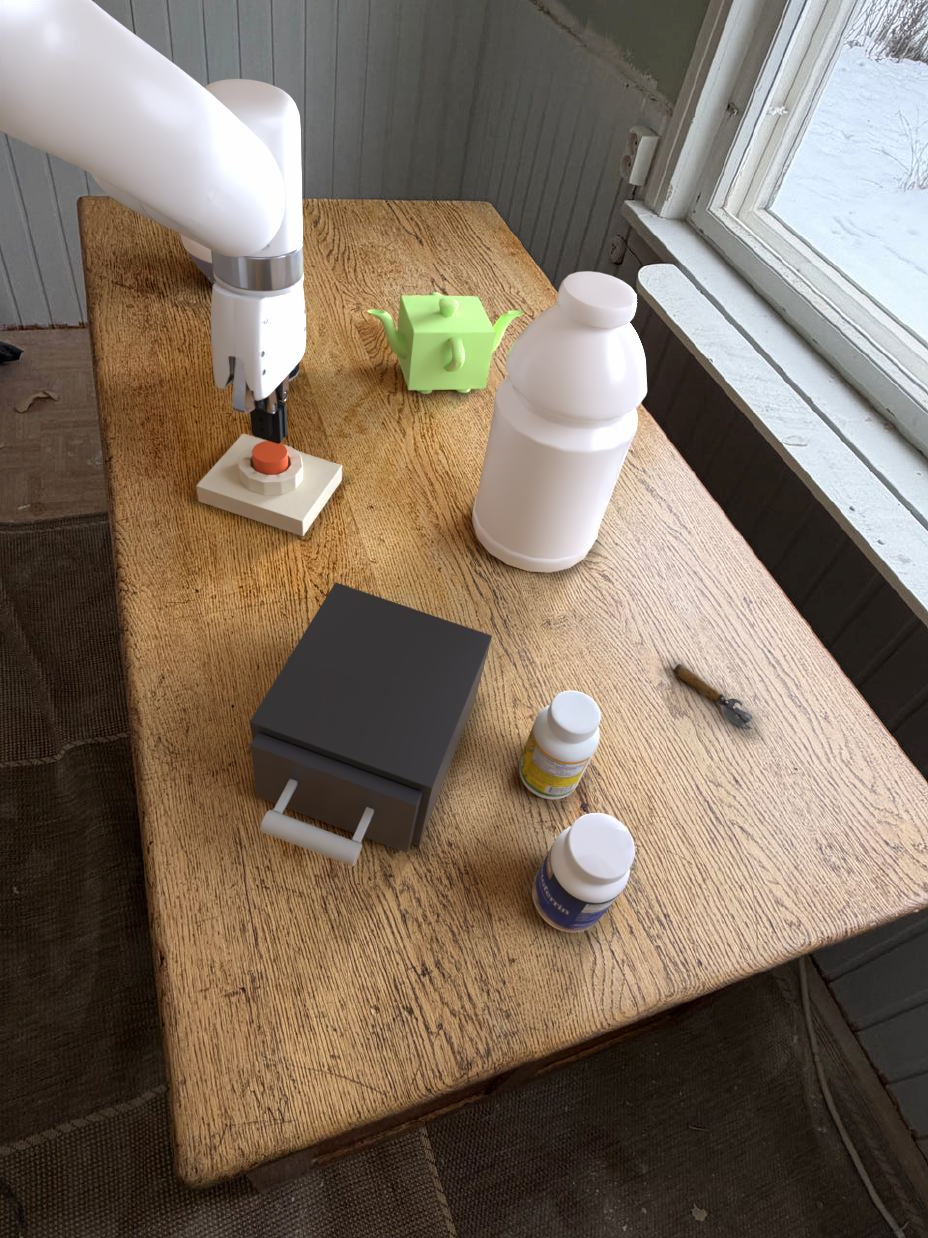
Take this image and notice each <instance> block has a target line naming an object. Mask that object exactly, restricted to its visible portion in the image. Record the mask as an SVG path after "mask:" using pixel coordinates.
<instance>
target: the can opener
mask: <svg viewBox="0 0 928 1238" xmlns="http://www.w3.org/2000/svg"><path fill="white" fill-rule="evenodd" d="M673 673H674V674H675V675H676V676H678V677H679V678H680V679H681V680H683V681H684V682H685V683H687V684H688V685H690V686H692V687H693V688H695V689H696V690H698V691H699V692H701V693H703V694H704V695H705V696H707V697H708V698H709V699H710V700H712V701H713V702H715V703H717V704H719V705H722V706H723V713H724V716H725V717H726V718H727V719H728V720H729V721H730V722H731V723H732V724H734V725H736V726H737V727H740V728H743V729H748V730H753V728H752V727H751V726H750V725H749V723H750V722H751V720H752V719H753V716H752V714H750V713H749V712H747V711H744V710H743V709H740V708H738V707H737V706H735V704H738V705H740V706H741V707H743V703H742V702H741V701H740V700H739V699H737V698H729V699H726V696H725V695H724V694H723V693H722V692H720V691H719V690H717V689H716V687H715V688H714V687H713V686H712V685H711V684H709V683H707V682H706V681H705V680H704V679H703V678H701V676H699V675H698V674H697V673H695V672H694V671H692V670H691V669H690V668H688V667H686V666H685V665H683V664H681V663H678V664H677V665H676V666H675V668H674V669H673ZM736 715H737V716H738V717H739V718H738V717H737V716H736Z"/></svg>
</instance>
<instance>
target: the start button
mask: <svg viewBox="0 0 928 1238" xmlns="http://www.w3.org/2000/svg"><path fill="white" fill-rule="evenodd" d="M284 445H285V444H283V443H282V442H281V443H280V444H277V443H273V442H270V441H267V440H265V441H264V442H261V443H258V444H257V445H255V446H254V448H253V450H252V457H253V466H254V468H255V470H256V471H257V472H259V473H262V474H265V475H278V474H280V473H283V472H284V471H285V470H286V469H287V467H288V451H287V448H286V447H285V446H284Z"/></svg>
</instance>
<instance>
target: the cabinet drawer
mask: <svg viewBox="0 0 928 1238" xmlns="http://www.w3.org/2000/svg"><path fill="white" fill-rule="evenodd" d="M249 748H250V754H251V763H252V769H253V777H254V782H255V783H254V784H255V791H256V798H259V799H261V800H264V801H267V802H270V803H272V804H273V805H274V808H273V809H269V810H267V811H266V812H265V814H264V816H263V818H262V819H261V822H260V826H259V832H260V833H263V834H265V835H269V836H271V837H274V838H276V839H279V840H282V841H284V842H287V843H289V844H292V845H294V846H297V847H300V848H302V849H305V850H308V851H310V852H313V853H316V854H318V855H321V856H324V857H327V858H329V859H332V860H334V861H337V862H339V863H342V864H345V865H348V866H350V867H355V865H356V864H357V861H358V859H359V857H360V854H361V851H362V847H363V844H362V841H363V839H364V838H366V839H368V840H371V841H374V842H376V843H378V844H382V845H385V846H387V847H389V848H392V849H395V850H398V851H401V852H403V853H406V854H408V853H409V850H410V847H411V846H412V844H411V843H412V840H413V836H414V831H415V826H416V821H417V816H418V812H419V807H420V802H421V797H422V792H421V791H419V790H418V789H415V788H413V787H410V786H407V785H404V784H402V783H399V782H396V781H393V780H391V779H388V778H385V777H382V776H380V775H377V774H374V773H371V772H369V771H366V770H363V769H360V768H358V767H355V766H352V765H350V764H347V763H344V762H341V761H339V760H336V759H333V758H330V757H328V756H325V755H322V754H319V753H317V752H314V751H311V750H308V749H306V748H303V747H300V746H297V745H295V744H292V743H289V742H286V741H284V740H281V739H279V740H278V739H275V738H273V737H270V736H267V735H265V734H262V733H259V732H258V733H257V734H256V736H255V738H254V739H253V741H252V740H251V743H250V744H249ZM285 809H288V810H291V811H294V812H296V813H298V814H301V815H304V816H306V817H310V818H313V819H315V820H317V821H319V822H323V823H325V824H328V825H330V826H334V827H336V828H339V829H342V830H345V831H346V832H350V833H352V834H353V836H352V837H351V839H350V838H347V837H344V836H341V835H339V834H337V833H333V832H331V831H328V830H326V829H323V828H320V827H318V826H315V825H312V824H309V823H308V822H304V821H302V820H299V819H296V818H293V817H291V816H289V815H285V814H283V813H284V812H285Z"/></svg>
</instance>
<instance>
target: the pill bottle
mask: <svg viewBox="0 0 928 1238" xmlns="http://www.w3.org/2000/svg"><path fill="white" fill-rule="evenodd" d="M635 855H636V847H635V842H634V839H633V837H632V835H631V833H630V831H629V830H628V828H627V827H626V826H625V825H624V824H623V823H622V822H621V821H620V820H618V819H617V818H615V817H613V816H612V815H610V814H607V813H606V814H605V813H603V812H591V813H590V812H589V813H586V814H584V815H582V816H580V817H578V818H577V819H576V820H575V821H574V822H573V823H572V825H570V826H568V827H566V828H565V829H564V830H563V831H561V832H560V833H559V834H558V835H557V837H556V838H555V839H554V842H553V843H552V845H551V847H550V849H549V851H548V852H547V854H546V855H545V857H544V860H543V861H542V863H541V865H540V867H539V869H538V871H537V872H536V874H535V875H534V880H533V883H532V900H533V904H534V907H535V908H536V911H537V912H538V914H539V915H540V916H541V918H542V919H543V920H544V921H545V922H546V923H547V924H548V925H550V926H551V927H552V928H554V929H556V930H559V931H561V932H565V933H581V932H584V931H587V930H589V929H590V928H592V927H594V925H596V924H597V923H598V921H599V920H600V919H601V918H602V917H603V915H605V913H606V912H607V911H608V910H609V908H610V907H611V906H612V905H613V903H614V902H615V901H616V900H617V899H618V897H619V896H620V895H621V893H622V892H623V891H624V889H625V887H626V886H627V884H628V882H629V878H630V873H631V867H632V865H633V863H634V860H635Z"/></svg>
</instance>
